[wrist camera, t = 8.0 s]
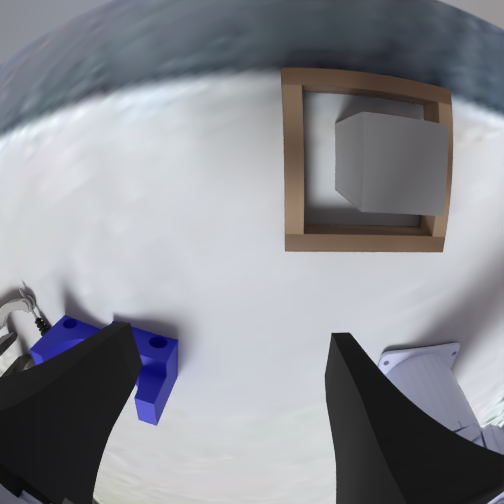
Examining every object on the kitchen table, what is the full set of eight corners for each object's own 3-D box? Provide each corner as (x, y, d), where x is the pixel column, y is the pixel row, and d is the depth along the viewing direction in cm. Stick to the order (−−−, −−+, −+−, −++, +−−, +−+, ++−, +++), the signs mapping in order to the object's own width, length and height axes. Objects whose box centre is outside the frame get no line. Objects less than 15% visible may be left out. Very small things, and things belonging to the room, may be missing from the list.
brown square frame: (429, 241, 17) (442, 252, 15) (284, 240, 18) (284, 251, 16) (435, 93, 13) (450, 89, 11) (281, 76, 14) (281, 67, 12)
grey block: (395, 192, 16) (443, 216, 10) (335, 189, 16) (361, 211, 11) (397, 129, 14) (447, 125, 9) (335, 123, 15) (363, 111, 9)
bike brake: (30, 385, 28) (127, 373, 27) (10, 413, 22) (107, 416, 21) (-18, 305, 24) (65, 264, 23) (-47, 328, 18) (25, 292, 17)
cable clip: (178, 338, 22) (152, 391, 16) (177, 375, 23) (156, 425, 18) (63, 301, 22) (25, 335, 16) (71, 337, 24) (39, 373, 18)
